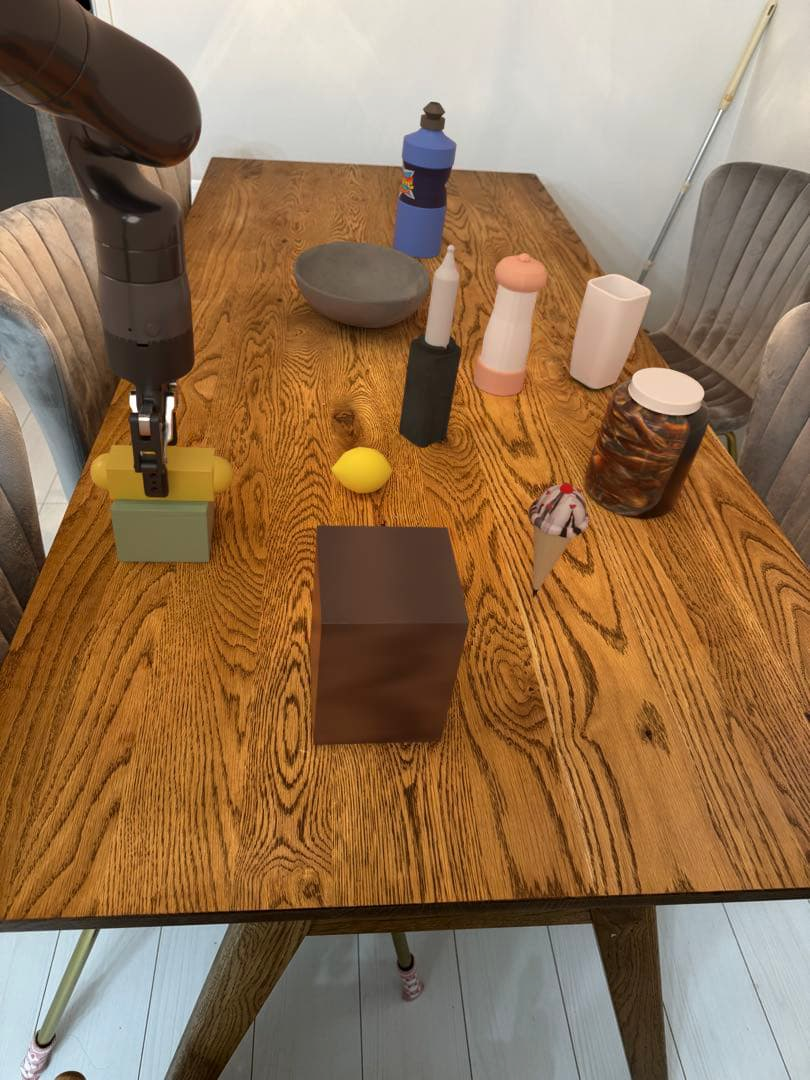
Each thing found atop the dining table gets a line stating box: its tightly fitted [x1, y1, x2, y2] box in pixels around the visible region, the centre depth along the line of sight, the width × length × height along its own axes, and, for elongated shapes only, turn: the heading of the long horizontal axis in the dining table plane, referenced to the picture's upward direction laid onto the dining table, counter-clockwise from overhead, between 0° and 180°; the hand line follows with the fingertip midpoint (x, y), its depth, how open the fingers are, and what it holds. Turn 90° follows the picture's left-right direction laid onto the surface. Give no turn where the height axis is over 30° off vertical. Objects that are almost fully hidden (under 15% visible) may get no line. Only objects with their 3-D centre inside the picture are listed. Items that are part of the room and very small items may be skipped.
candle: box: [398, 244, 462, 448], centre depth 98 cm, size 5×5×25 cm
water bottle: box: [392, 101, 457, 259], centre depth 146 cm, size 9×9×25 cm
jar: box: [583, 367, 711, 519], centre depth 97 cm, size 12×12×15 cm
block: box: [109, 499, 216, 563], centre depth 84 cm, size 9×9×7 cm
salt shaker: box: [472, 252, 548, 397], centre depth 112 cm, size 7×7×19 cm
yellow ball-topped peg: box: [89, 444, 235, 501], centre depth 81 cm, size 14×4×4 cm, turn 97°
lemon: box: [331, 446, 393, 494], centre depth 94 cm, size 7×5×5 cm
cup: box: [569, 273, 652, 390], centre depth 118 cm, size 7×7×15 cm
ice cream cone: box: [528, 482, 590, 599], centre depth 80 cm, size 6×6×15 cm
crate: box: [309, 524, 470, 746], centre depth 69 cm, size 11×11×15 cm
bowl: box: [292, 240, 431, 329], centre depth 127 cm, size 21×21×8 cm
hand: (162, 468), depth 81 cm, fingers open, 8 cm apart
